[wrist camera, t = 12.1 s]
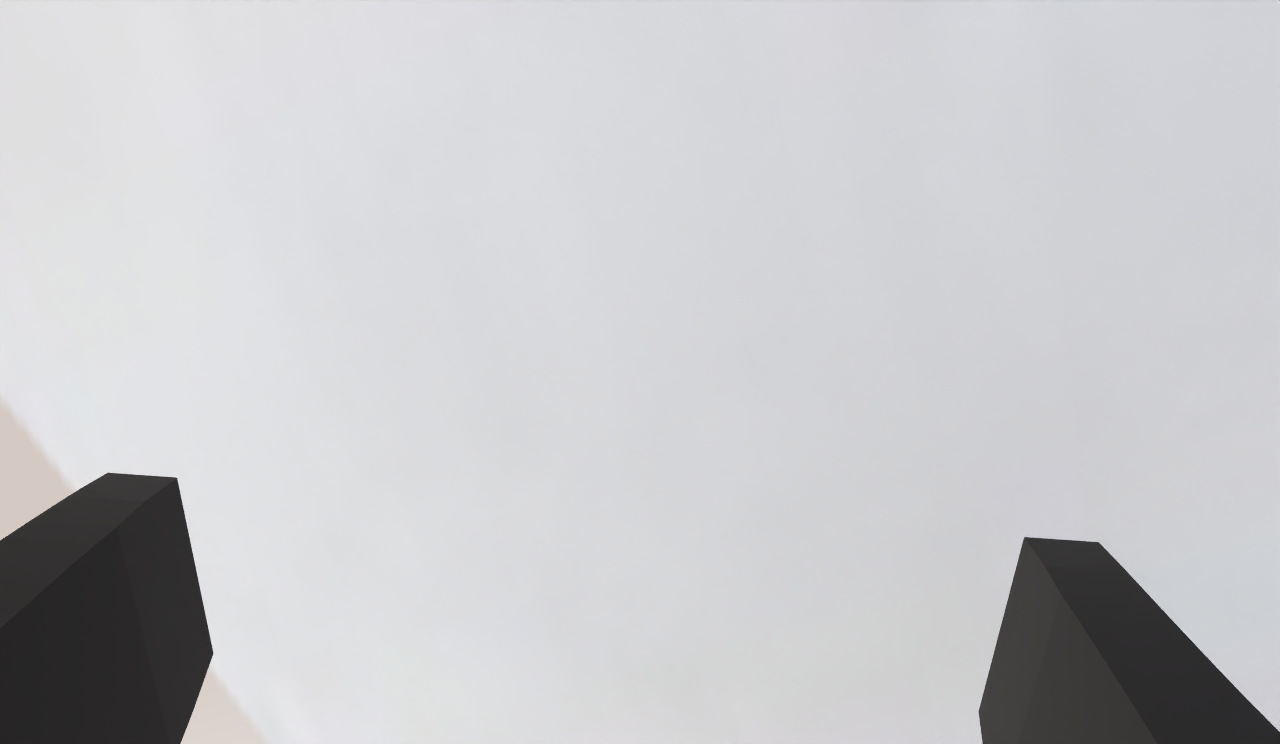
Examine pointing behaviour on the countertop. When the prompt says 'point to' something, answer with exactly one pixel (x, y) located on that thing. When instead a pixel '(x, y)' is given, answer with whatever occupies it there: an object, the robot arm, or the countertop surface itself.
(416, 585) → the countertop surface
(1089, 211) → the countertop surface
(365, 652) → the countertop surface
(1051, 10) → the countertop surface
